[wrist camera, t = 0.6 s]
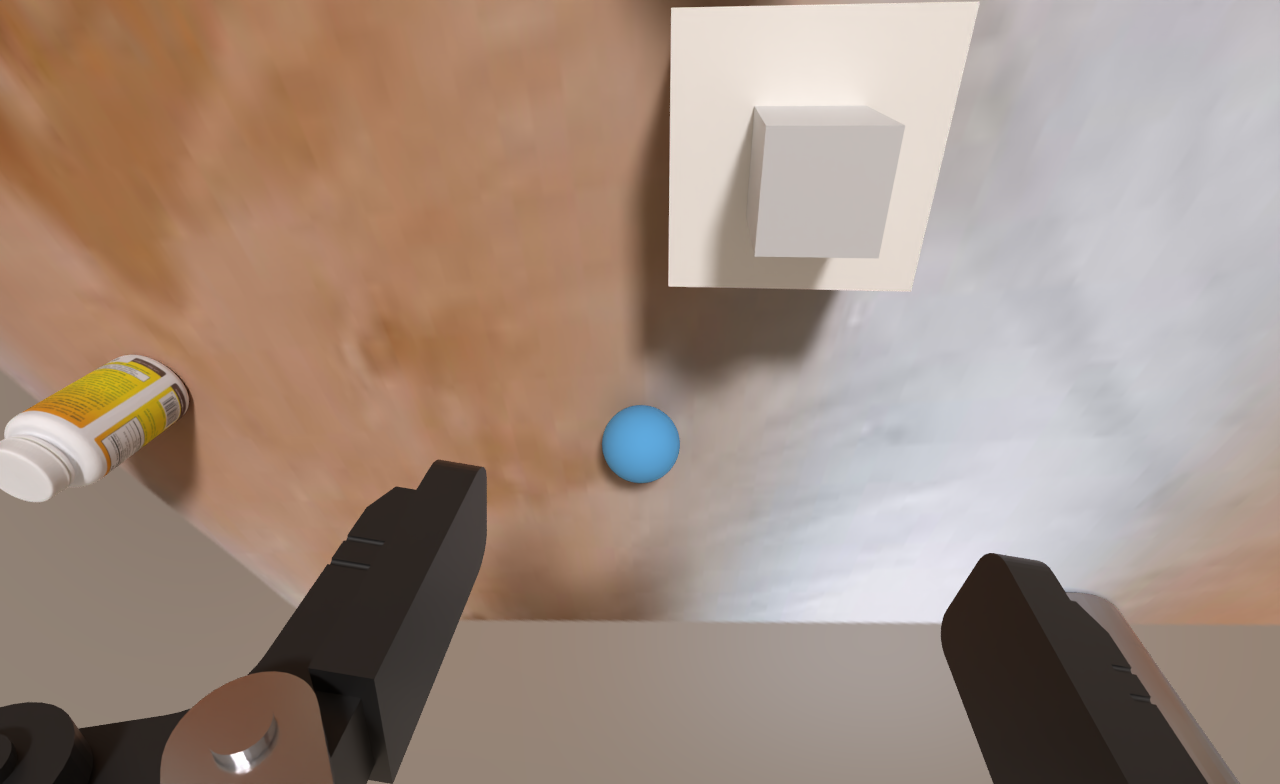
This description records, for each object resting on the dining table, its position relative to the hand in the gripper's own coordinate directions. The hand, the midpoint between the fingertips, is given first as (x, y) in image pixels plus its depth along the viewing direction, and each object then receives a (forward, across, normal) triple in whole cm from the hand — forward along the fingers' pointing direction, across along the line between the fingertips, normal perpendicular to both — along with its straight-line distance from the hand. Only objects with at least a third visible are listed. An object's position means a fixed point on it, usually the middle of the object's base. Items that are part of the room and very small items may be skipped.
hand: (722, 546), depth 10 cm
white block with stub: (+26, -3, -3) cm, 27 cm away
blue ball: (+24, +1, +16) cm, 29 cm away
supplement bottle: (+27, +36, +20) cm, 49 cm away
